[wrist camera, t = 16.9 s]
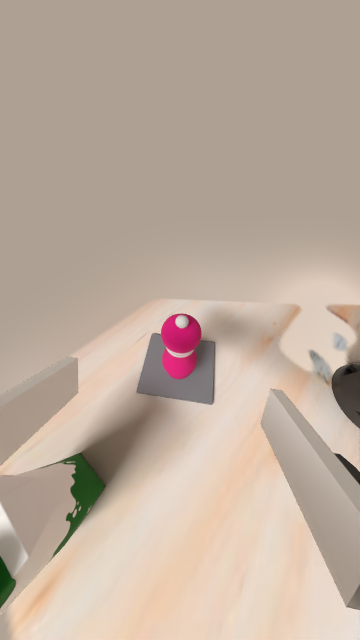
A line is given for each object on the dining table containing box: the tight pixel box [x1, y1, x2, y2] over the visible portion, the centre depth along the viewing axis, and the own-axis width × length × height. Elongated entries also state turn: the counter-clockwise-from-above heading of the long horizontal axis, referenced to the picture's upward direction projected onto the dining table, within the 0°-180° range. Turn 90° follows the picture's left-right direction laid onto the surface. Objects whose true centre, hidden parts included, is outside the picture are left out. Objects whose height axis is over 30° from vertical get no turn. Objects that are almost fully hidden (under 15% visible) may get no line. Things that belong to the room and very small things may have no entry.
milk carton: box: [0, 453, 105, 614], centre depth 19 cm, size 9×9×20 cm
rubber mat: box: [137, 334, 215, 405], centre depth 39 cm, size 16×14×1 cm
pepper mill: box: [161, 314, 201, 379], centre depth 30 cm, size 7×7×20 cm
